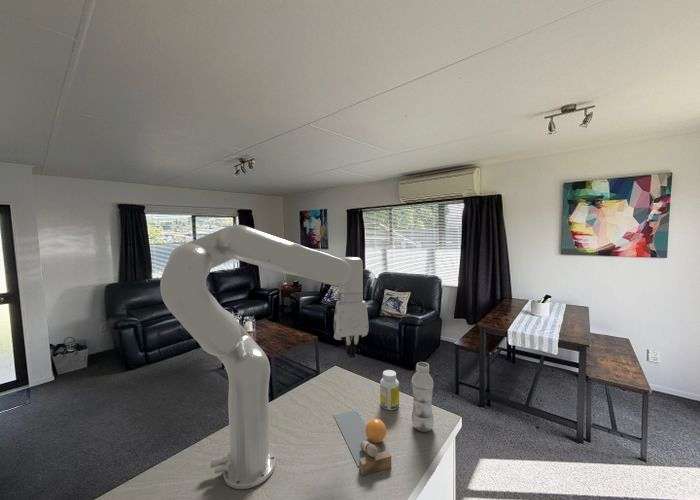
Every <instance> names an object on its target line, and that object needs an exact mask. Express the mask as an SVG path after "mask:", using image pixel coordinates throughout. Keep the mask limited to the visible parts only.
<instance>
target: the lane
mask: <svg viewBox="0 0 700 500" xmlns="http://www.w3.org/2000/svg"><path fill="white" fill-rule="evenodd" d="M333 418H334V419H335V422H336V424H337V425H338V428H339V430H340V432H341V434H342V436H343V438H344V441H345V443H346V445H347V447H348V449H349V452H350V453H351V455H352V457H353V459H354V462H355V464H356V466H357V467H358V468H359V459H360V458H363V457H367V456H370V455H368V454H367V453H366V452H364V451H363V450H362V449H361V448H360V443H361V441H363V440H366V441H367V442H369V443H371V444H373V445H375V446H376V447H377V450H378V452H377V453H381V452H383V450H382V449H381V447H380V446H379V445H378V444H379V443H374V442H371V441H370V440H369V439H368V437H367V435H366V431H365V429H366V425H367V424H366V423H365V421H364V420H363V418H362V417H361V415H360V414H359V412H358V411H357V410H356V409H355V410H352V411H347V412H343V413H339V414H335V415H333Z"/></svg>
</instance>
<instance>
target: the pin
mask: <svg viewBox="0 0 700 500" xmlns="http://www.w3.org/2000/svg"><path fill="white" fill-rule="evenodd" d="M360 448H361V449H362V450H363V451H364V452H366V453H367V454H368V455H370V456H372V457H374V456H376V455H377V452H378V450H377V447H376V446H375V445H373V444H371V443H369V442H367V441H366V440H363V441H361V443H360Z"/></svg>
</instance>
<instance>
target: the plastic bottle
mask: <svg viewBox="0 0 700 500" xmlns="http://www.w3.org/2000/svg"><path fill="white" fill-rule="evenodd" d="M429 372H430V364H429V363H427V362H424V361H420V362H417V363H416V365H415V373H414V374H413V375H412V378H411V389H412V397H413V405H412V412H411V425H412V426H413V428H414V429H415V430H416V431H418V432H421V433H429V432H430V431H431V430H432V429H434V428H433V427H434V425H435V420H434V413H433V403H432V401H433V391H434V384H435V383H434V380H433V379H434V378H433V377H432V376H431V374H430V373H429Z"/></svg>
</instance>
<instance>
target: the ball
mask: <svg viewBox="0 0 700 500" xmlns="http://www.w3.org/2000/svg"><path fill="white" fill-rule="evenodd" d="M365 425H366V429H365V431H366V435H367V437H368V439H369V440H370V441H371V442H374V443H377V444H379V443H381V442H383V441H384V440H385V438H386V435H387V427H386V425H385V423H384V422H383V420H381V419H379V418H371V419H370V420H368V422H367V423H366V424H365Z"/></svg>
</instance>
